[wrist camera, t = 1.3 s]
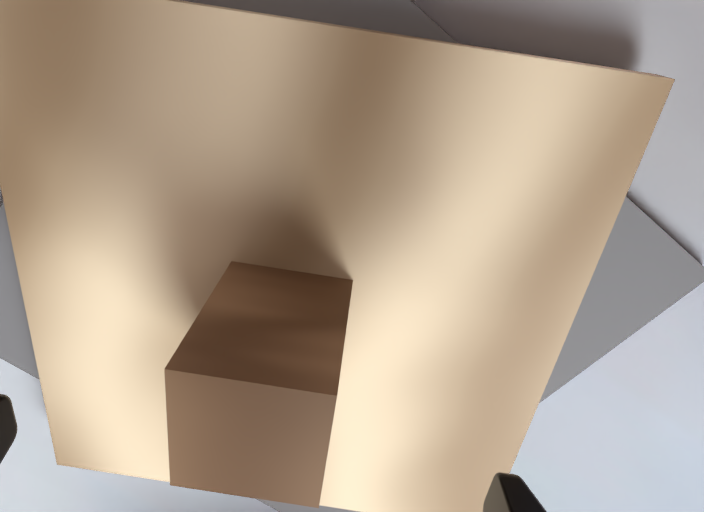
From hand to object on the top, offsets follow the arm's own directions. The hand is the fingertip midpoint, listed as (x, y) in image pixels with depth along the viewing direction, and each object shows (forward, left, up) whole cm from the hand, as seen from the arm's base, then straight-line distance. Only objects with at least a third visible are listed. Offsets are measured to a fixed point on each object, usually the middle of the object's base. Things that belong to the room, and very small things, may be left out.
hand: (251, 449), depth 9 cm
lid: (0, 0, -5) cm, 5 cm away
